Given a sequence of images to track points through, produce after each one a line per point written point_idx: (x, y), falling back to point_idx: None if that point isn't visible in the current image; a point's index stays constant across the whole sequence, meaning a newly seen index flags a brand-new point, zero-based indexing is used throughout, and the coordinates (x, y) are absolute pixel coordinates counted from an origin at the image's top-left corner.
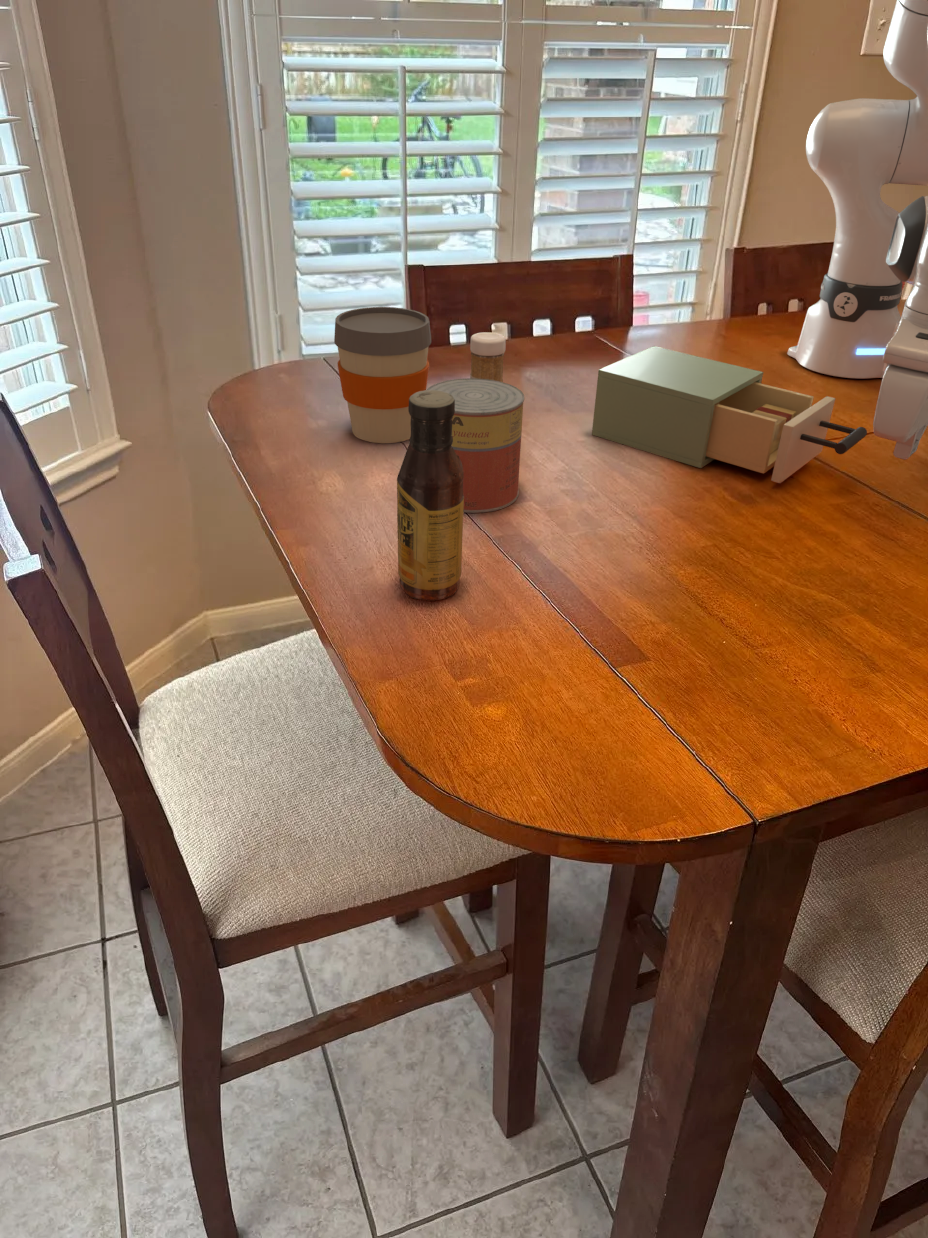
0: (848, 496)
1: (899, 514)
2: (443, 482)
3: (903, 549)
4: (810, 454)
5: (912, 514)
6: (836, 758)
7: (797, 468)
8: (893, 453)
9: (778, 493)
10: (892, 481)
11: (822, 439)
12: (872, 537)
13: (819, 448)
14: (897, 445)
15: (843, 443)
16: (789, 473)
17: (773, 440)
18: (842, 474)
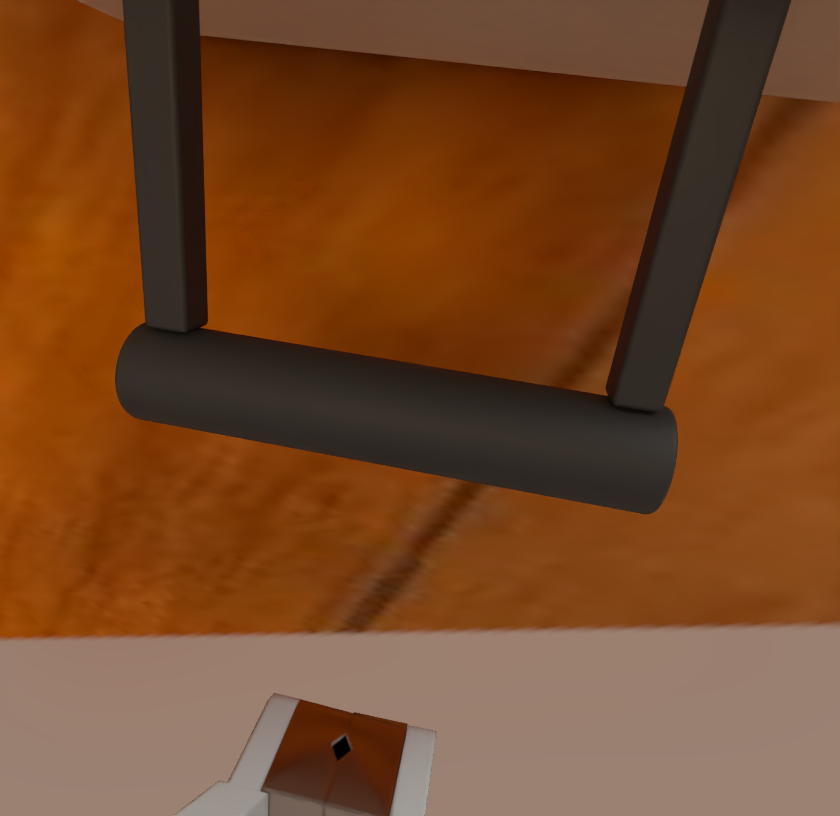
0: None
1: (303, 579)
2: None
3: (59, 602)
4: (604, 65)
5: (334, 616)
6: None
7: (386, 52)
8: (271, 698)
9: None
10: (642, 534)
11: (165, 186)
12: (58, 516)
13: (794, 87)
14: (239, 765)
15: (125, 397)
16: (246, 36)
17: None
18: (608, 306)
